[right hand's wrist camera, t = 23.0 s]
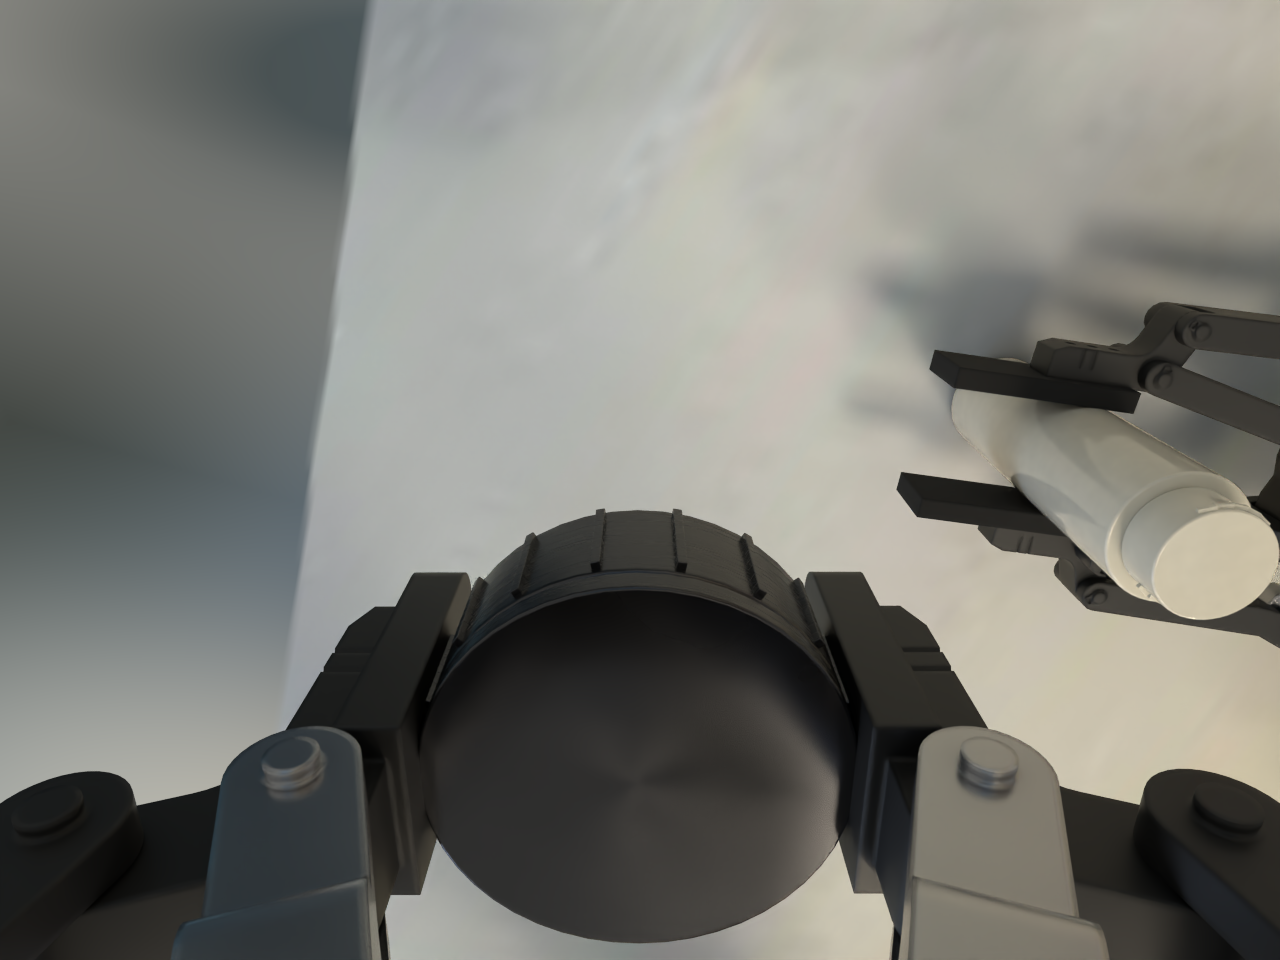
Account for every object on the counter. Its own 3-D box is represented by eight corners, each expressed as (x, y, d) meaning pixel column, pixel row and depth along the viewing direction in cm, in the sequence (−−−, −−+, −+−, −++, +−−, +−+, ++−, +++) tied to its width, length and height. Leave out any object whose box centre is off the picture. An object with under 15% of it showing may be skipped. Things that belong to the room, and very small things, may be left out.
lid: (375, 707, 11) (324, 816, 10) (596, 422, 10) (586, 486, 8) (670, 879, 12) (675, 1006, 11) (908, 645, 11) (962, 745, 9)
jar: (1052, 433, 38) (1301, 612, 24) (959, 459, 39) (1144, 650, 24) (1039, 345, 37) (1294, 476, 22) (942, 373, 38) (1127, 520, 23)
